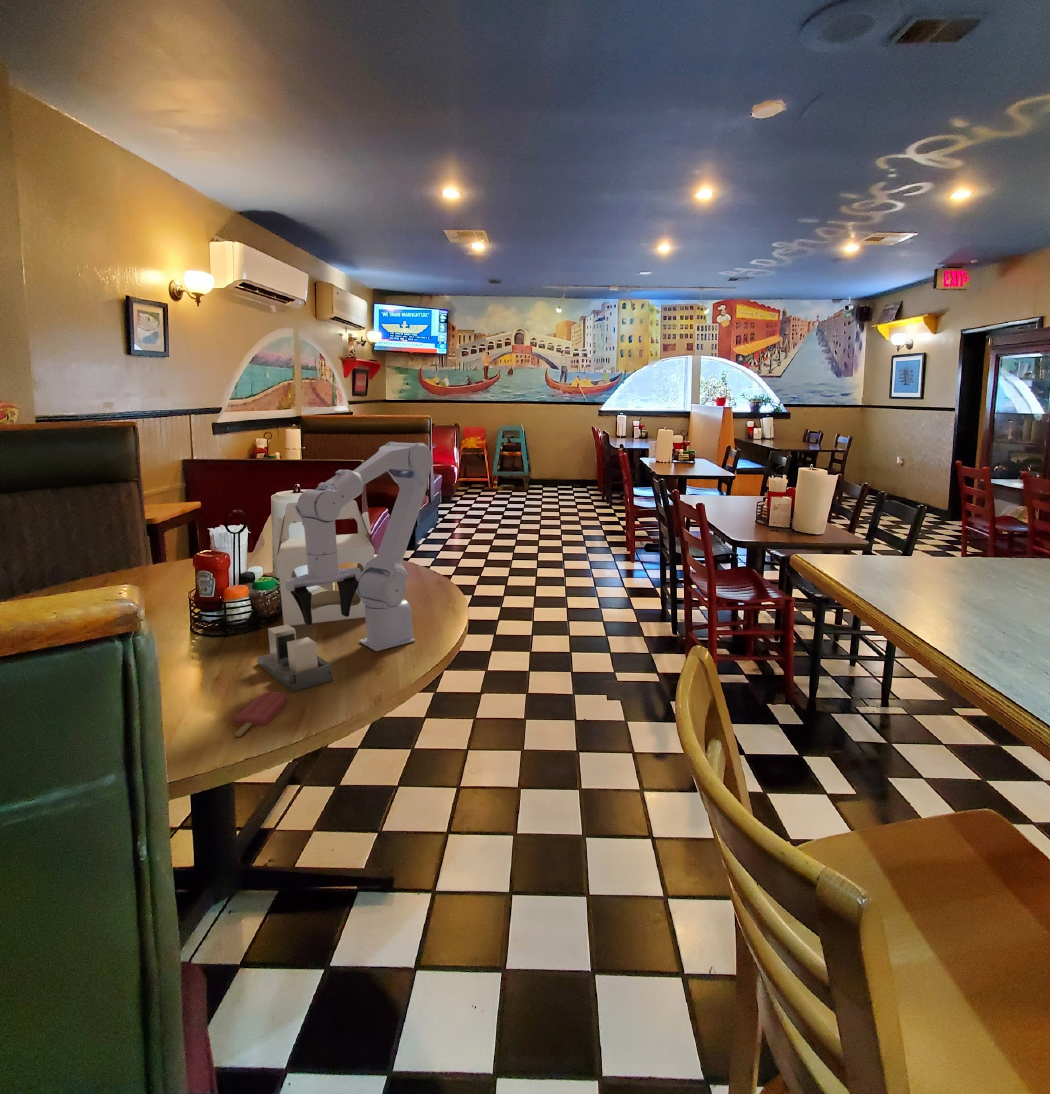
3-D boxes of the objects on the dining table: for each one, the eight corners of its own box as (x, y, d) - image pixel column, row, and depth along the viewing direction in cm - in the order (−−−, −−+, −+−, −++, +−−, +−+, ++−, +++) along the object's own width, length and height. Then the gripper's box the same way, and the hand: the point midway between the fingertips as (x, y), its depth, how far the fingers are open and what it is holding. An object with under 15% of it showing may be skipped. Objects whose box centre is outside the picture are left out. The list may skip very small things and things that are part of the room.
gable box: (372, 601, 179) (365, 495, 173) (379, 616, 167) (372, 502, 161) (282, 611, 172) (272, 500, 166) (282, 627, 160) (271, 508, 154)
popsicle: (219, 730, 107) (262, 690, 122) (220, 740, 108) (262, 699, 122) (253, 731, 107) (291, 691, 122) (254, 740, 107) (292, 699, 122)
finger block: (318, 672, 129) (315, 642, 127) (297, 678, 126) (294, 647, 125) (309, 666, 132) (307, 636, 131) (289, 671, 129) (286, 641, 128)
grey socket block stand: (296, 654, 142) (293, 619, 141) (333, 680, 129) (330, 642, 127) (257, 663, 137) (254, 628, 136) (291, 692, 124) (287, 653, 122)
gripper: (347, 543, 139) (352, 607, 142) (276, 554, 130) (283, 622, 133) (363, 549, 134) (368, 615, 137) (290, 560, 125) (296, 631, 128)
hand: (327, 619), depth 135 cm, fingers open, 7 cm apart
